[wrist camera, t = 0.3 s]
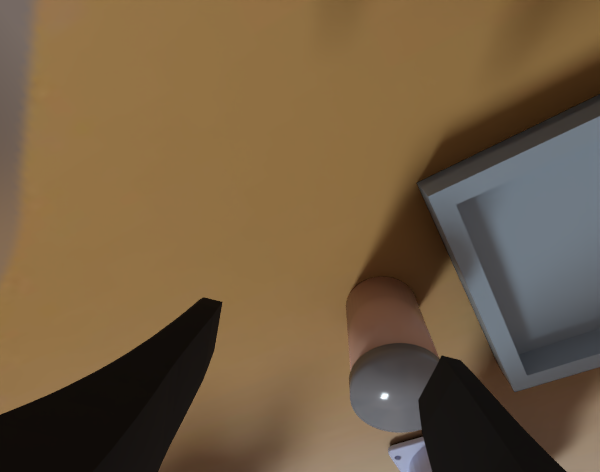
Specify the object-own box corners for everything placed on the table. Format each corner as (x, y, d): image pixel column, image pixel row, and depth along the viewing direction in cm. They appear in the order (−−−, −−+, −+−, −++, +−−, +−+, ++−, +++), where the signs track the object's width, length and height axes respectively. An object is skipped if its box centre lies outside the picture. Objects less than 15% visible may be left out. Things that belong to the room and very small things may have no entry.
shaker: (429, 320, 22) (468, 415, 16) (363, 344, 24) (375, 442, 17) (400, 263, 21) (431, 345, 15) (331, 292, 22) (332, 379, 16)
